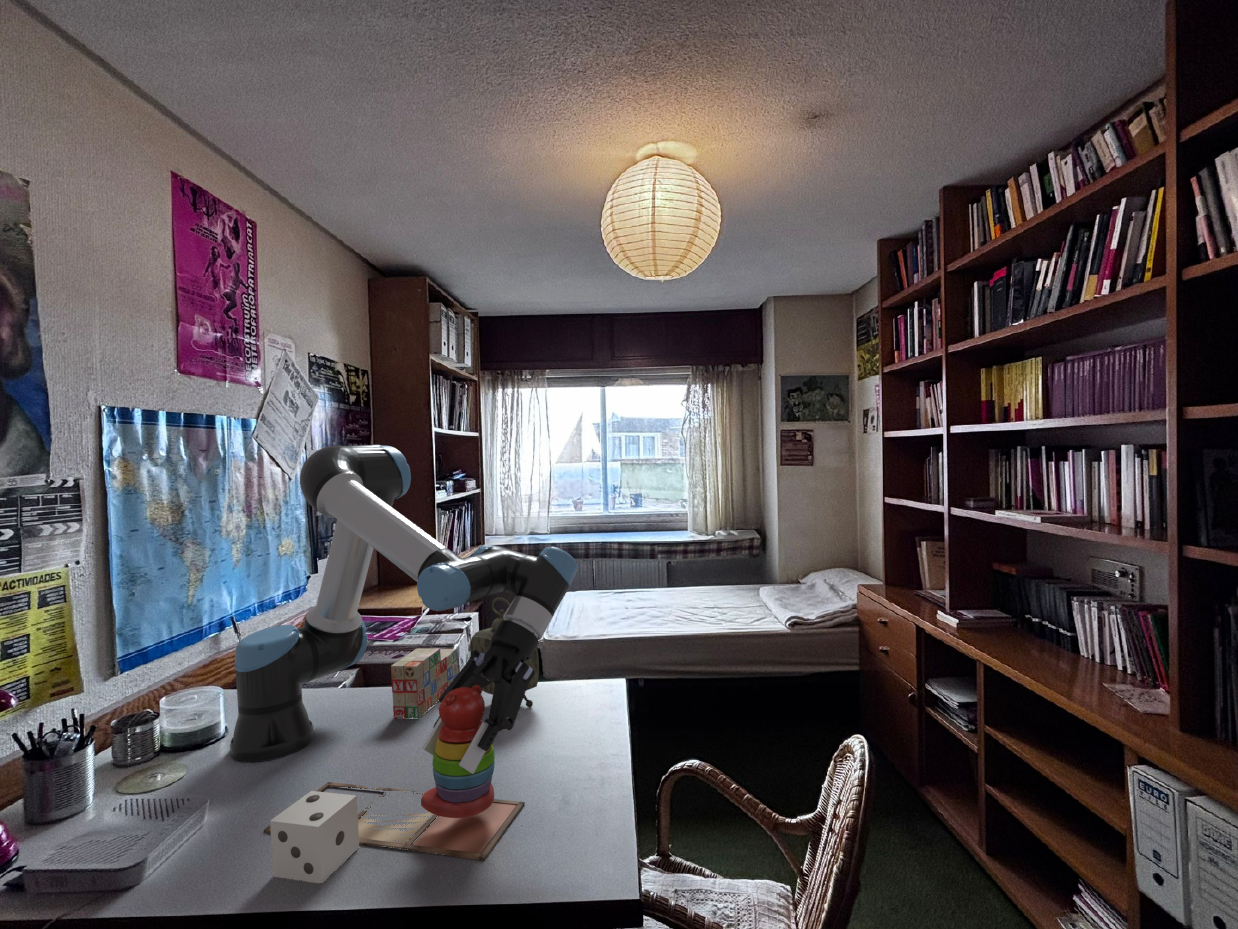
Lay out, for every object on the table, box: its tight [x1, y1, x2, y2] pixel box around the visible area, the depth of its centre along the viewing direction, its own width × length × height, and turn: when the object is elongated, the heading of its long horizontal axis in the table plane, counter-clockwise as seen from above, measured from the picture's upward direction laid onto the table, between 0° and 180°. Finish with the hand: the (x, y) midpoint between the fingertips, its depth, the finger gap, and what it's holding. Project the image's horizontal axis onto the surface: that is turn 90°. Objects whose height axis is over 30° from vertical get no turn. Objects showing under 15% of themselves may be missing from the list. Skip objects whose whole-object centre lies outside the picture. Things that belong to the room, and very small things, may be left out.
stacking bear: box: [421, 685, 496, 818], centre depth 99 cm, size 11×10×18 cm
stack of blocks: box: [390, 647, 459, 719], centre depth 152 cm, size 21×6×12 cm, turn 170°
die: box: [269, 790, 360, 884], centre depth 92 cm, size 8×8×8 cm
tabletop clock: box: [469, 597, 540, 708], centre depth 146 cm, size 14×9×25 cm, turn 49°
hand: (446, 760), depth 96 cm, fingers closed on stacking bear, 9 cm apart
